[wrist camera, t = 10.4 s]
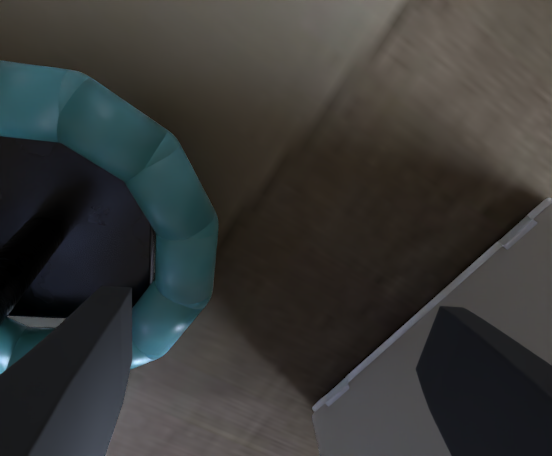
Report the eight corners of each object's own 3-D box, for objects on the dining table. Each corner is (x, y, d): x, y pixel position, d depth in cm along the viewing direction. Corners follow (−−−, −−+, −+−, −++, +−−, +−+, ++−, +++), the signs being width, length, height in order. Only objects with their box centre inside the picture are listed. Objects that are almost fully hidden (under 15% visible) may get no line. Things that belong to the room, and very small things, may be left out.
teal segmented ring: (205, 360, 22) (203, 399, 20) (-92, 351, 20) (-132, 393, 18) (231, 86, 16) (231, 97, 14) (-192, 29, 14) (-273, 31, 12)
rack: (153, 307, 22) (122, 428, 15) (-39, 298, 20) (-161, 427, 14) (156, 136, 18) (117, 203, 11) (-80, 109, 16) (-278, 168, 10)
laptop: (432, 470, 31) (557, 746, 19) (306, 403, 26) (370, 712, 14) (651, 308, 25) (1007, 550, 14) (542, 191, 21) (934, 404, 9)
